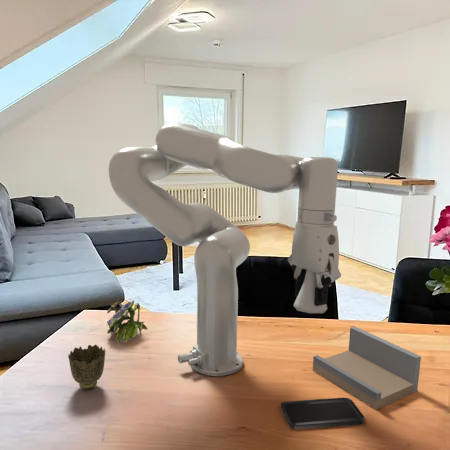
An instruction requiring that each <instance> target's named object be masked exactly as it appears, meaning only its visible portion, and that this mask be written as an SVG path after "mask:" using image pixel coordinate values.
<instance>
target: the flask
mask: <svg viewBox="0 0 450 450" xmlns="http://www.w3.org/2000/svg"><path fill="white" fill-rule="evenodd" d="M315 287H318V285H317V279H316V273H314V272H311V271H308V270H306V275H305V279H304V282H303V285H302V287H301V290H300V292H299V294H298V296H297V297H296V299H295V300H294V303H293V307H294V308H295V309H296V311H298V312H303V313H307V314H324V313H325V312H326V311H327V310H328V305H327V304H324V305H320V306H316V305H314V298H315Z"/></svg>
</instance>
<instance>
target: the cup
mask: <svg viewBox="0 0 450 450" xmlns="http://www.w3.org/2000/svg"><path fill="white" fill-rule="evenodd" d="M105 359H106V349H105V348H103V346H98V345H97V344H94V345H91V344H88V346H87V348H82V346H79V347H76V346H75V347H74V348H73V351H72V350H70V353H68V362H69V366H70V368H69V369H70V372H71V373H70V374H71V376H72V378H73V380H74V381H75V382H76V383H78V386H79V388H80V389H81V390H83V391H90V390H93V389H94V388H96V387H97V385H98V380H100V378H101V377H102V375H103V374H104V369H105Z"/></svg>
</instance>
